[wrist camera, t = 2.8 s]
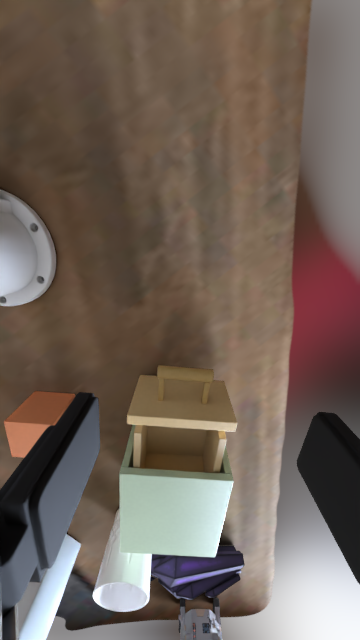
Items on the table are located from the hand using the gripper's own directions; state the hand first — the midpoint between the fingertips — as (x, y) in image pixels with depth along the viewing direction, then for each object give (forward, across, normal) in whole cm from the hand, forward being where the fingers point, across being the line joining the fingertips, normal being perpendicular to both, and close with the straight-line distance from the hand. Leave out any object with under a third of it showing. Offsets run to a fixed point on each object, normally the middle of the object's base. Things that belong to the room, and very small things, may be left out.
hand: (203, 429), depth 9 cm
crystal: (+19, -5, +50) cm, 53 cm away
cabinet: (+18, 0, +24) cm, 30 cm away
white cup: (+19, +6, +40) cm, 44 cm away
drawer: (+17, 0, +14) cm, 22 cm away
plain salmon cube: (+18, +18, +17) cm, 31 cm away
